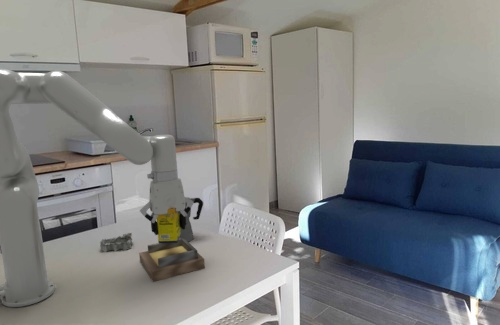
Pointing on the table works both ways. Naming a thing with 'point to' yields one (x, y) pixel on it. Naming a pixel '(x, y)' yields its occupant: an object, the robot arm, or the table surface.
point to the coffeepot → (188, 232)
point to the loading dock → (170, 259)
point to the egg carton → (117, 243)
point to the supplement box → (169, 227)
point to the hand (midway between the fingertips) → (169, 230)
